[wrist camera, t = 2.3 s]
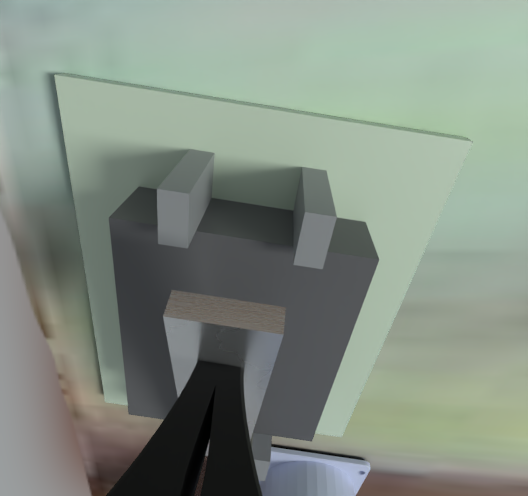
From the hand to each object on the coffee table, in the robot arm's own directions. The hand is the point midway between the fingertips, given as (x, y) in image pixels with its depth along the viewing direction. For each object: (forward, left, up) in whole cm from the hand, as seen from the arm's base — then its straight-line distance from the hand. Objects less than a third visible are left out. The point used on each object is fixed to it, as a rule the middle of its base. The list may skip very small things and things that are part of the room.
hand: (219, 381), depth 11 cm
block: (-3, 0, -2) cm, 4 cm away
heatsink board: (-3, 0, -8) cm, 8 cm away
